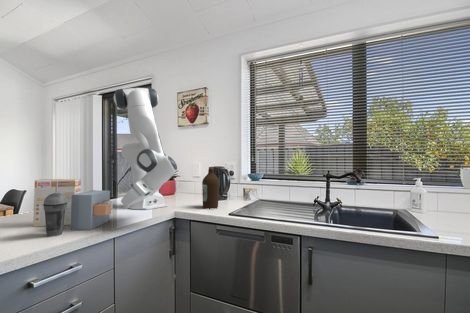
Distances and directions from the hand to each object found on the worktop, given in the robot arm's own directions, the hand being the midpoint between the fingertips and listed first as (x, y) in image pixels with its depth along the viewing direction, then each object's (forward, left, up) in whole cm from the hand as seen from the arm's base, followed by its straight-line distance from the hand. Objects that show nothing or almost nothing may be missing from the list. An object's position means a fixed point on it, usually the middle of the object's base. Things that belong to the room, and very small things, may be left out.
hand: (125, 207), depth 103 cm
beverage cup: (+25, +1, -7) cm, 26 cm away
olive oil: (-51, -6, -7) cm, 52 cm away
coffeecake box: (+23, -16, -7) cm, 29 cm away
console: (+12, -6, -7) cm, 15 cm away
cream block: (+8, -6, -1) cm, 10 cm away
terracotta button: (+10, +1, -1) cm, 10 cm away
